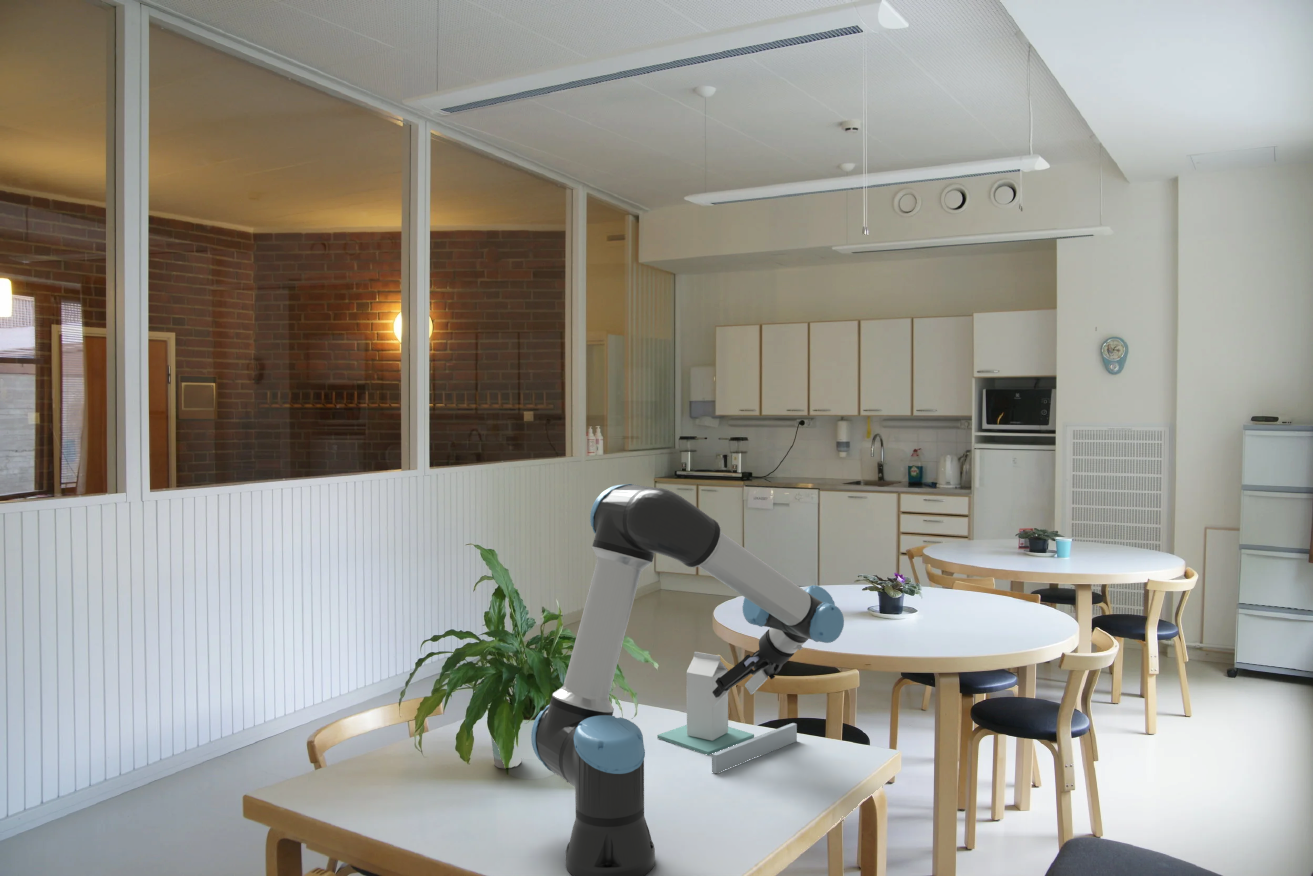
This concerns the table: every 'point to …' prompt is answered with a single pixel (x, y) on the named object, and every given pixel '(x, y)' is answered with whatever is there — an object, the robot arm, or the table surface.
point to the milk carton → (699, 685)
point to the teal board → (703, 745)
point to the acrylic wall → (754, 747)
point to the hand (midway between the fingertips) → (729, 695)
